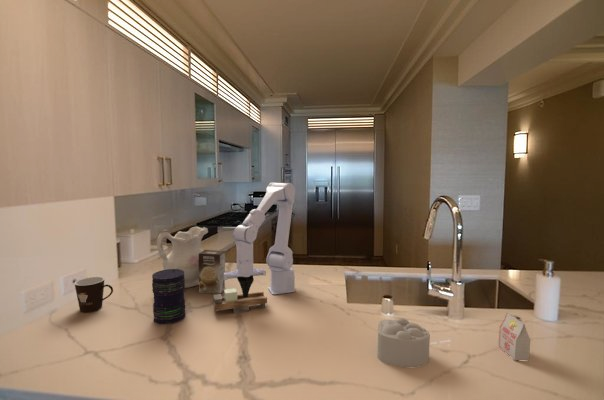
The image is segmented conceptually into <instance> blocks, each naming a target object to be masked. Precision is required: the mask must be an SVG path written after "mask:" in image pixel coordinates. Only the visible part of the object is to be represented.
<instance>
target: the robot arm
mask: <svg viewBox="0 0 604 400" xmlns="http://www.w3.org/2000/svg"><path fill="white" fill-rule="evenodd" d="M295 197H296V188H295V187H294V185H293V183H291V182H273V181H272V182H270V183H269V184H268V185H267V187H266V188H265V195H264V196H263V198H262V200H261V201H260V203H259V204H258V206H257V208H254V209H253V208H252V209H251V210H250V211H249V214H247V216H246V217H245V219H244V220H243V222H242V223H241V224H239V225H237V226H236V227H235V228H234V229H233V233H232V238H233V240H234V242H235V243H234V244H235V246H236V270H232V271H228V272H227V271H225V273H224V280H225V281H226V280H232V279H237V281H238V283H239V285H240V289H241V292H242V294H243V297H244V298H248V293H249V292H250V289H251V286H252V285H253V284H254V283H253V282H254V281H255V280H254V277H258V276H265V277H266V275H267V270H266V269H265V268H254V242H255V240H256V239H257V236H258V233H259V228H260V227H261V225H262V224H263V223H264V221H265V220H266V215H265V214H266V213H267V212H268V211H269V209H271V207H272V206H273V205H274V204H275V203H276V204H277V205H278V207H279V208H278V215H277V216H278V217H277V222H276V223H277V224H276V232H275V239H274V245H272V246H270V248H269V250H268V253H267V256H266V259H265V261H266V265H267V266H268V269H269V270H270V286H267V289H268V290H269V292H270V293H271V294H272V295H282V294H286V293H295V292H296V290H295V286H296V285H295V282H296V281H295V279H296V278H295V271H294V269H293V268H292V267H293V264H294V258H293V253H294V252H293V251H292V249H291V248H290V247H289V246H288V245H289V238H290V237H289V236H290V229H291V222H292V221H291V220H292V213H293V205H294V204H295Z"/></svg>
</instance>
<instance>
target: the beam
mask: <svg viewBox="0 0 604 400" xmlns="http://www.w3.org/2000/svg"><path fill="white" fill-rule="evenodd" d="M212 304H213V305H212V306H213V309H214V311H221V310H228V309H229V310H230V309H232V311H233V313H234V314H238V313H244V312H249V311H250V306H256V305H257V306H258V305H260V307H261V309H265V308H266V304H268V296H265V293H264V291H257V292H250V293H248V298H244V297H243V293H242V294H241V293H240V294H237V301H232V302H225V300H224V296H222V294H221V293H220V294H213V297H212Z"/></svg>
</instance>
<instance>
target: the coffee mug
mask: <svg viewBox="0 0 604 400" xmlns="http://www.w3.org/2000/svg"><path fill="white" fill-rule="evenodd" d="M74 287H75V293H76V297H77V302H78V303H77V304H78V307H79V312H81V313H82V314H83V313H84V314H86V313H87V314H89V313H94V312H97V311H99V310H101V309H102V308H103V301H105V300H106V299H108V298H110V296H111V295H112V294H113V292H114V289H113V288H114V287H113V286H112V285H110V284H105V277H103V276H90V277H85V278H81V279H79V280H77V281H75V282H74ZM105 287H108V288H109V289H110V293H109V294H108V295H107V296H105V297H104V288H105Z"/></svg>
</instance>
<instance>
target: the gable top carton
mask: <svg viewBox="0 0 604 400" xmlns="http://www.w3.org/2000/svg"><path fill="white" fill-rule="evenodd" d="M498 333H499V334H498V346H499V347H500V348H501V349H503V350H504V351H505V352H506V353H507V354H508V355H509V356H511V357H512V358H513V359H514V360H529V361H530V347H531V338H530V336H529V333H528V331H527V327H526V324H525V323H523V322H522V321H520V320H519V319H517V318H516V317H514V316H513V315H512V314H511V313H509V312H506V313H505V317H504V319H503V320H502V322H501V323H500V326H499V331H498ZM498 346H497V347H498ZM499 347H498V348H499ZM501 349H500V350H501ZM503 350H502V351H503ZM504 351H503V352H504ZM505 352H504V353H505ZM506 353H505V354H506ZM507 354H506V355H507ZM508 355H507V356H508ZM509 356H508V357H509ZM514 360H513V361H514Z"/></svg>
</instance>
